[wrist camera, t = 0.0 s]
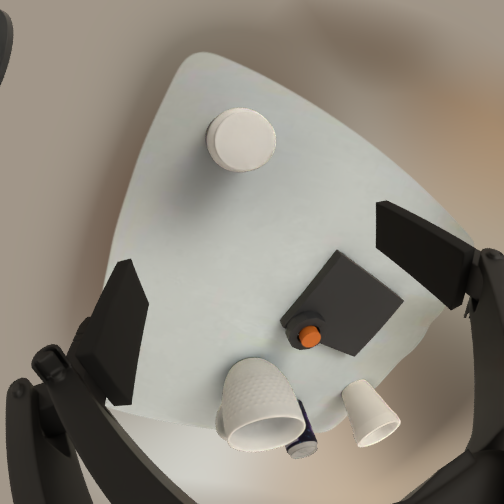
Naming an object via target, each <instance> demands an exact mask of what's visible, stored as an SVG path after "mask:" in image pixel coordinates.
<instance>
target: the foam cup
mask: <svg viewBox="0 0 504 504" xmlns="http://www.w3.org/2000/svg"><path fill="white" fill-rule="evenodd" d="M342 398H343V401H344V404H345V407H346V410H347V413H348V416H349V419H350V422H351V426H352V429H353V432H354V439H355V441H356V443H357V445H358V446H359V447H366V446H370V445H373V444H375V443H377V442H379V441H381V440H383V439H384V438H386V437H387V436H389V435H390V434H391V433H393V432H394V431H395V430H396V429H397V428H398V426H399V425H400V419H399V418H398V416H397V415H396V413H395V412H393V411H392V410H391V408H390V407H389V406H388V405H387V404H386V403H385V401H384V400H383V399H382V398H381V397H380V396H379V395H378V393H377V392H376V391H375V390H374V389H373V387H372V386H371V385H370V384H369V383H368V382H367V381H366V380H364V379H363V380H357V381H355V382H353V383H351V384H349V385H348V386H347V387H346V388H345V389H344V390H343V392H342Z"/></svg>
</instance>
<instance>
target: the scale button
mask: <svg viewBox="0 0 504 504" xmlns="http://www.w3.org/2000/svg"><path fill="white" fill-rule="evenodd" d="M299 339H300V341H301V343H302V345H303V346H304V347H313V346H315V345H317V344H318V343H319V341H320V339H321V335H320V333H319V331H318V330H317V328H316V327H315V326H307V327H305V328H303V329H302V330H301V331H300V332H299Z"/></svg>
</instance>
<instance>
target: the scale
mask: <svg viewBox="0 0 504 504" xmlns="http://www.w3.org/2000/svg"><path fill="white" fill-rule="evenodd" d="M403 302H404V300H403V299H401V298H400V297H399V296H398V295H397V294H396V293H394V292H393V291H392V290H391V289H389V288H388V287H387V286H385V285H384V284H383V283H381V282H380V281H379V280H378V279H376V278H375V277H374V276H372V275H371V274H370V273H368V272H367V271H366V270H364V269H363V268H362V267H360V266H359V265H358V264H356V263H355V262H354V261H352V260H351V259H349V258H348V257H347V256H345V255H344V254H343V253H341V252H340V251H338V250H336V251H335V253H334V254H333V255H332V257H331V258H330V259H329V261H328V262H327V263H326V264H325V266H324V267H323V268H322V270H321V271H320V272H319V273H318V275H317V276H316V277H315V278H314V280H313V281H312V282H311V283H310V285H309V286H308V287H307V288H306V290H305V291H304V292H303V293H302V295H301V296H300V297H299V298H298V299H297V301H296V302H295V303H294V304H293V306H292V307H291V308H290V309H289V310H288V312H287V313H286V314H285V315H284V316H283V317H282V319H281V320H280V322H281V324H282V326H283V328H285V329H286V332H285V333H286V336H287V338H288V340H289V342H290V344H291V346H292V347H294V348H296V349H299V350H303V349H310V348H312V347H304V346H303V345H302V343H301V341H300V339H299V335H298V334H299V332H300V331H301V330H302V329H303V328H305V327H307V326H315V327H316V328H317V330H318V331H319V333H320V335H321V339H320V341H319V343H321V344H324V345H326V346H329V347H331V348H334V349H336V350H339V351H341V352H344V353H346V354H349V355H352V356H354V357H355V356H356V355H357V354H358V353H359V352H360V351H361V349H362V348H363V347H364V346H365V345H366V344H367V343H368V342H369V341H370V340H371V339H372V338H373V337H374V336H375V334H376V333H377V332H378V331H379V330H380V329H381V328H382V327H383V325H384V324H385V323H386V322H387V321H388V320H389V318H390V317H391V316H392V315H393V314H394V313H395V311H396V310H397V309H398V308H399V307H400V305H401V304H402V303H403ZM319 343H318V344H319ZM318 344H317V345H318ZM315 346H316V345H315ZM313 347H314V346H313Z"/></svg>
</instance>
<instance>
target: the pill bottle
mask: <svg viewBox="0 0 504 504" xmlns="http://www.w3.org/2000/svg"><path fill="white" fill-rule="evenodd" d="M206 145H207V148H208V151H209V153H210V155H211V157H212V158H213V160H214V161H215V162H216V163H217V164H218V165H220V166H221V167H223V168H224V169H227V170H229V171H233V172H246V171H251V170H255V169H257V168H259V167H261V166H263V165H264V164H265V163H266V162H267V161H268V160H269V159H270V158H271V156H272V155H273V153H274V150H275V146H276V136H275V131H274V129H273V127H272V125H271V124H270V123H269V121H268V120H267V119H265V118H264V117H263V116H262V115H260V114H259V113H258V112H256V111H254V110H251V109H247V108H233V109H230V110H227V111H225V112H223V113H221V114H220V115H218V116H217V117H216V118H215V119H214V120H213V121H212V122H211V123H210V124H209V126H208V128H207V131H206Z"/></svg>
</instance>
